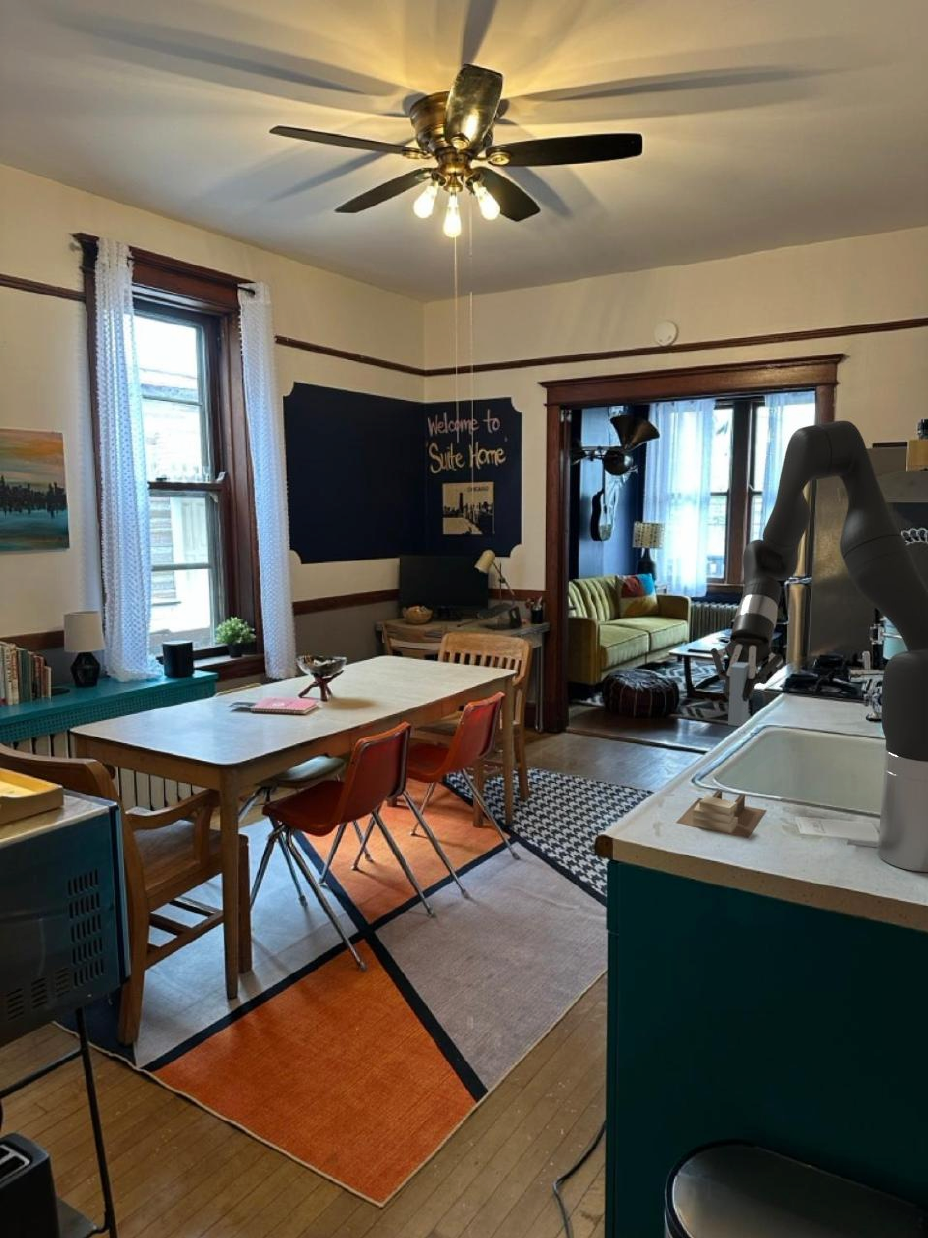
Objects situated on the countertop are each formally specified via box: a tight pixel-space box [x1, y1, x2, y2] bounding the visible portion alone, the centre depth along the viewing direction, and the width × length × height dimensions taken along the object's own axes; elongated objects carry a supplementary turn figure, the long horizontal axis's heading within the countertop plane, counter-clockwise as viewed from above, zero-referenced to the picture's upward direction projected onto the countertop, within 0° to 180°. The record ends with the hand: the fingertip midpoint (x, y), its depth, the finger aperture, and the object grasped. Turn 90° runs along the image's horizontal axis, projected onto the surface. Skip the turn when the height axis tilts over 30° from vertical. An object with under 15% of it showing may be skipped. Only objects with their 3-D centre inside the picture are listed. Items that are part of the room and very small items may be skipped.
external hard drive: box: [794, 816, 879, 848], centre depth 135 cm, size 2×8×12 cm
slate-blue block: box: [727, 662, 750, 727], centre depth 149 cm, size 2×5×11 cm, turn 148°
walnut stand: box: [675, 789, 767, 839], centre depth 140 cm, size 12×14×4 cm
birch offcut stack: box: [693, 795, 738, 833], centre depth 136 cm, size 7×4×4 cm, turn 58°
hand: (736, 697), depth 148 cm, fingers closed on slate-blue block, 2 cm apart
